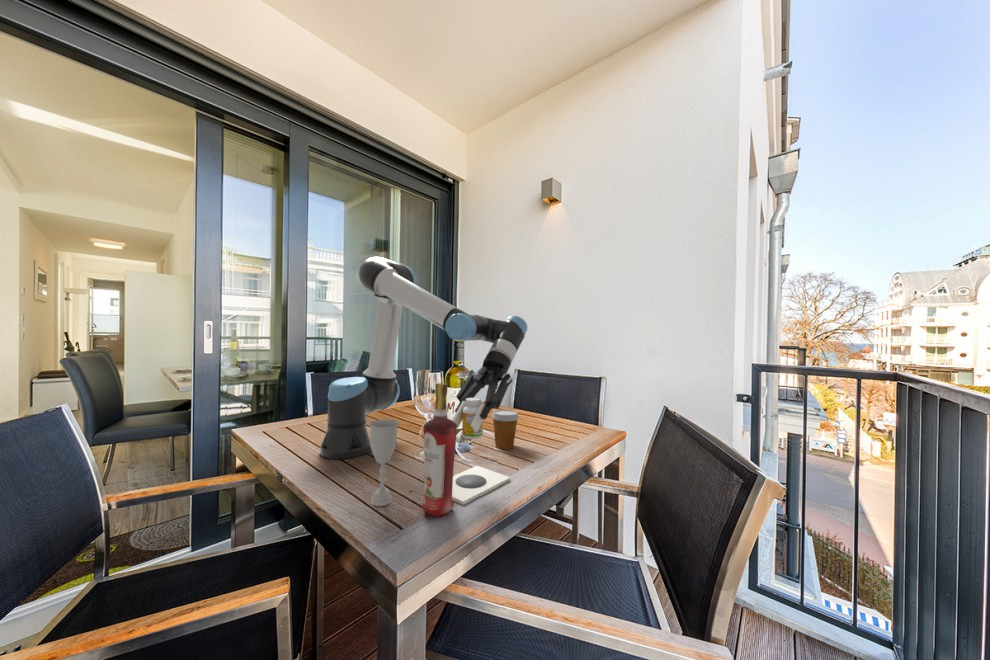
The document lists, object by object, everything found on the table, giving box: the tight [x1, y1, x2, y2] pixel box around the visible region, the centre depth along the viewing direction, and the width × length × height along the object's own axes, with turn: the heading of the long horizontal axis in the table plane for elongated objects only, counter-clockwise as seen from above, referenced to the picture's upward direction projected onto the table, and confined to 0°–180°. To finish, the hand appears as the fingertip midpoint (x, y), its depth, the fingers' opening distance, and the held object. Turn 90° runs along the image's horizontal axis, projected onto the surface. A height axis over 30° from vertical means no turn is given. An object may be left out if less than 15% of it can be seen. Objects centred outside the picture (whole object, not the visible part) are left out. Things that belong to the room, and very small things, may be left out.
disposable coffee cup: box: [491, 409, 520, 450], centre depth 120 cm, size 10×10×12 cm
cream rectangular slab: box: [452, 465, 511, 506], centre depth 89 cm, size 18×12×1 cm, turn 141°
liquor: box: [422, 382, 458, 518], centre depth 75 cm, size 7×7×28 cm
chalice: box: [368, 418, 400, 507], centre depth 79 cm, size 7×7×18 cm
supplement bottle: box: [461, 397, 484, 440], centre depth 89 cm, size 5×5×10 cm
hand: (464, 426), depth 86 cm, fingers closed on supplement bottle, 5 cm apart
